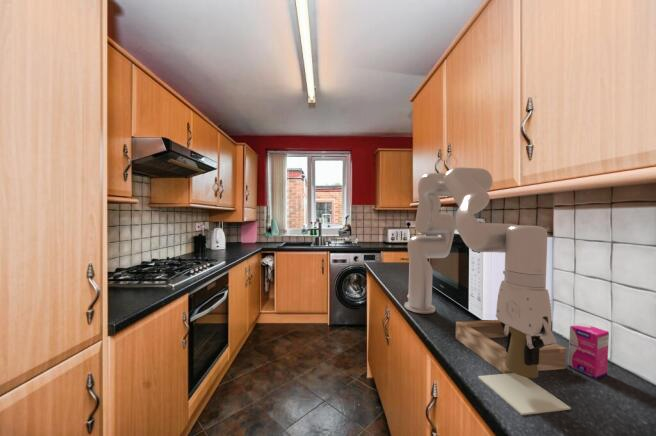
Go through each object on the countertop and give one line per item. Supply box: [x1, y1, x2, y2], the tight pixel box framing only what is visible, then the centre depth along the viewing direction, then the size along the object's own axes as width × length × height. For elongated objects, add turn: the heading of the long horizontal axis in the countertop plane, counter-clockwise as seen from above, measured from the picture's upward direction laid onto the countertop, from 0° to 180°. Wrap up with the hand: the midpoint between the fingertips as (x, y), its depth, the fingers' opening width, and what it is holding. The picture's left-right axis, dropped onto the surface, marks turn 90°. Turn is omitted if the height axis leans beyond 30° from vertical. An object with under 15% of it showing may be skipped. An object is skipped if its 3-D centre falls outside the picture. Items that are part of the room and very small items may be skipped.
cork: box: [505, 326, 539, 379], centre depth 59 cm, size 6×6×11 cm
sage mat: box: [477, 373, 572, 416], centre depth 59 cm, size 12×12×1 cm
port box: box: [455, 319, 567, 374], centre depth 76 cm, size 19×19×6 cm
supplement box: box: [567, 322, 610, 380], centre depth 68 cm, size 6×6×12 cm
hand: (521, 357), depth 59 cm, fingers closed on cork, 4 cm apart
